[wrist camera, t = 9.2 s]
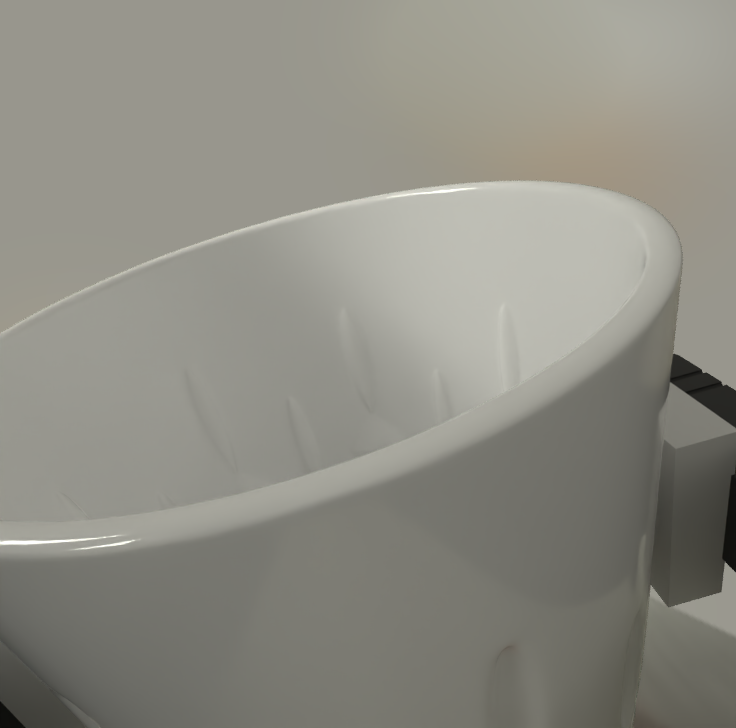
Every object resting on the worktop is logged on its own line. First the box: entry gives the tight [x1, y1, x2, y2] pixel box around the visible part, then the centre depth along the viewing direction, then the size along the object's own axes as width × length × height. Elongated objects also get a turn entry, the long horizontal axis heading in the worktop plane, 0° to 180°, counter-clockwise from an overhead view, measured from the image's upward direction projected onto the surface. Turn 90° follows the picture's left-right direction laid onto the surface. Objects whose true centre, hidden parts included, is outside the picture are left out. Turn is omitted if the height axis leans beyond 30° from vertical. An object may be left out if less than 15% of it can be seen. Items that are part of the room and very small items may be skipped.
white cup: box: [0, 181, 683, 728], centre depth 8 cm, size 8×8×10 cm
